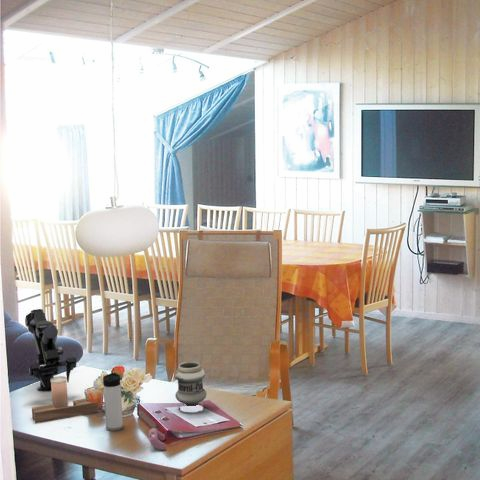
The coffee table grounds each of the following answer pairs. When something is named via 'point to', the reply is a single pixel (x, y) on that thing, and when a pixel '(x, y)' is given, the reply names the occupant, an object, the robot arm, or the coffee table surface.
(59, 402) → the pink cylinder
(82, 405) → the bar
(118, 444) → the coffee table surface
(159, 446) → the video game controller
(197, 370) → the apothecary jar
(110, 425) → the travel mug
